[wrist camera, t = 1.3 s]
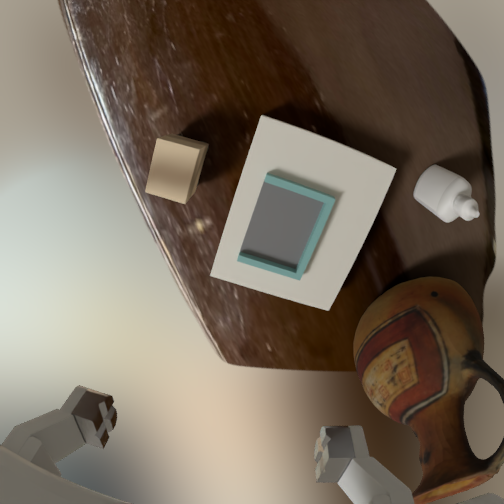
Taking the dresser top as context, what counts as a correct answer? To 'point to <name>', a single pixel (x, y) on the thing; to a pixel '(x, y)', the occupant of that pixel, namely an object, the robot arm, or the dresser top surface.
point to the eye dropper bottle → (446, 194)
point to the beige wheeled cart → (176, 167)
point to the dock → (299, 214)
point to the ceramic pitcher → (428, 377)
